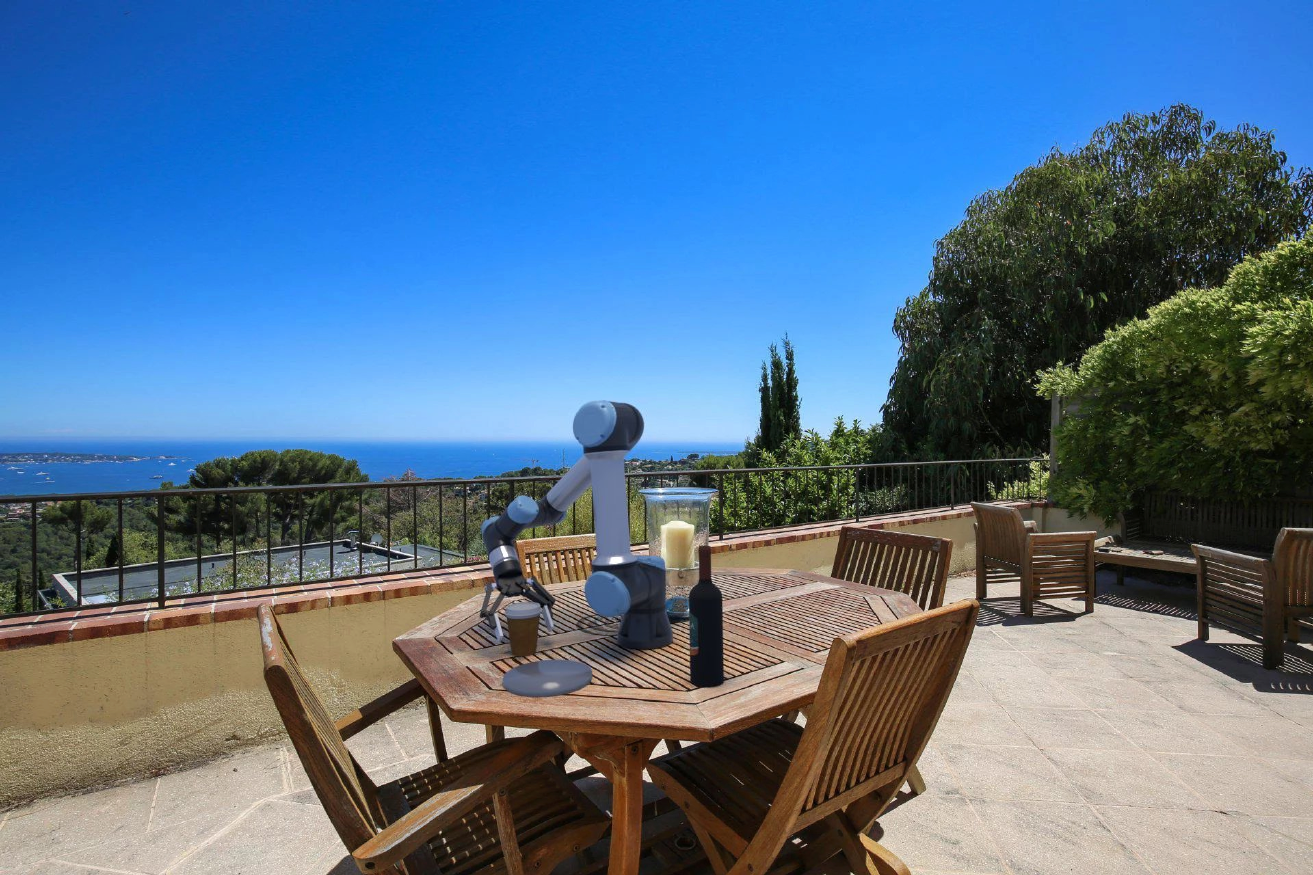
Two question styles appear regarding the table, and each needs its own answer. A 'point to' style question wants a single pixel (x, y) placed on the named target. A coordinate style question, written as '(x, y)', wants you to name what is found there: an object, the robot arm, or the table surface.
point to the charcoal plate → (547, 678)
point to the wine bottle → (706, 627)
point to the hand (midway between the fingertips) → (526, 634)
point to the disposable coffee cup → (523, 627)
